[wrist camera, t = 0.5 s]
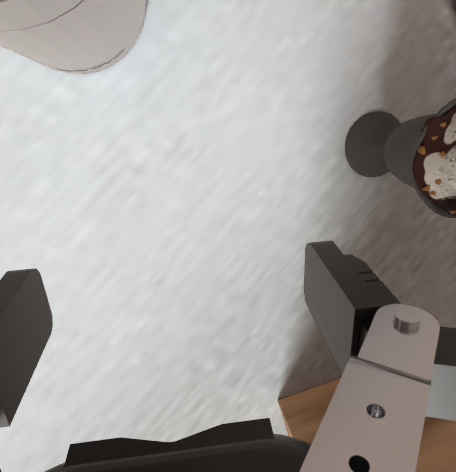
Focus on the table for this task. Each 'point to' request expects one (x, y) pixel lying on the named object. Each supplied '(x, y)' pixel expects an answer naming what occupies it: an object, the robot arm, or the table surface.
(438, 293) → the table surface
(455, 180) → the sundae
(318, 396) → the stand
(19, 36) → the robot arm
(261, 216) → the table surface
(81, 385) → the table surface
